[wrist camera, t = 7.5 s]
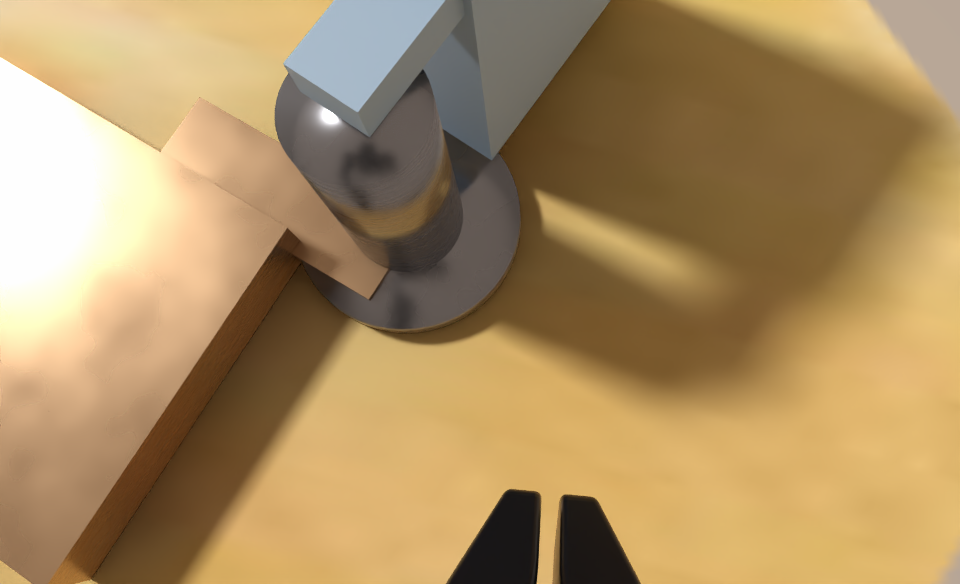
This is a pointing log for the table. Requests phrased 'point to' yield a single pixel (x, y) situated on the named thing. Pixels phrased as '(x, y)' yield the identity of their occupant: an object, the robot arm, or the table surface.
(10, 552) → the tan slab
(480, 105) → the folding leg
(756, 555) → the table surface
